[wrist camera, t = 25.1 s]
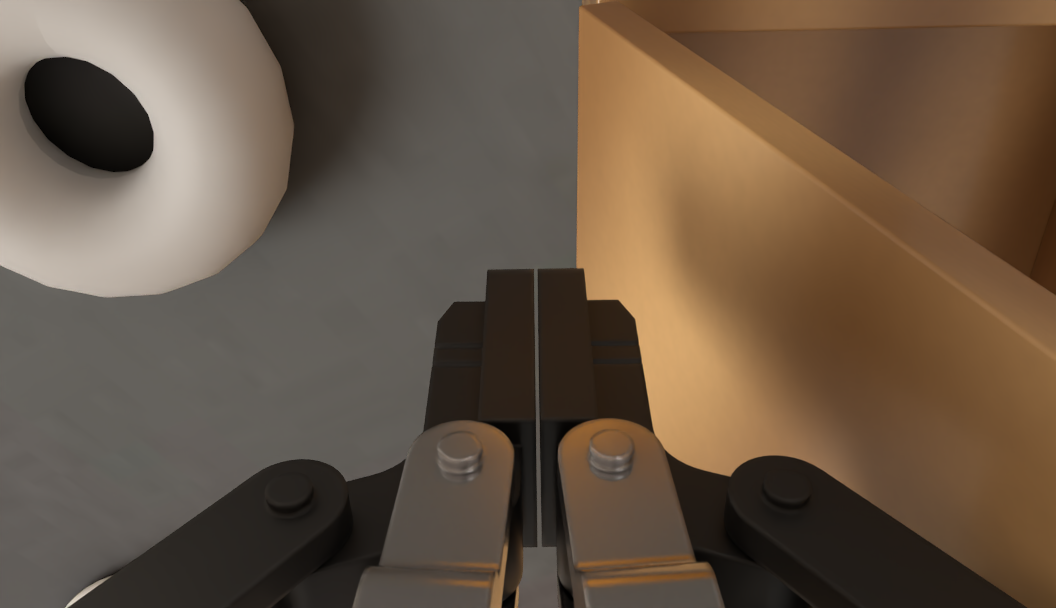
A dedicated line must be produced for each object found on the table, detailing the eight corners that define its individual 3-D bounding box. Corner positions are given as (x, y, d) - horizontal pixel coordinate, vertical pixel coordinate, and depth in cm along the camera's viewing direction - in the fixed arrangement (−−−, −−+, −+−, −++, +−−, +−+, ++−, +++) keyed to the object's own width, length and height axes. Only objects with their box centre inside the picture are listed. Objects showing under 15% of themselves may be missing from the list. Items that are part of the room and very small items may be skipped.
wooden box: (1160, -84, 22) (1314, -20, 18) (976, 463, 32) (1047, 589, 28) (582, -72, 23) (596, -6, 18) (576, 469, 32) (584, 597, 28)
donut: (39, 281, 28) (358, 218, 27) (-17, 352, 25) (336, 285, 24) (-173, -59, 23) (214, -162, 21) (-275, -18, 20) (163, -133, 19)
